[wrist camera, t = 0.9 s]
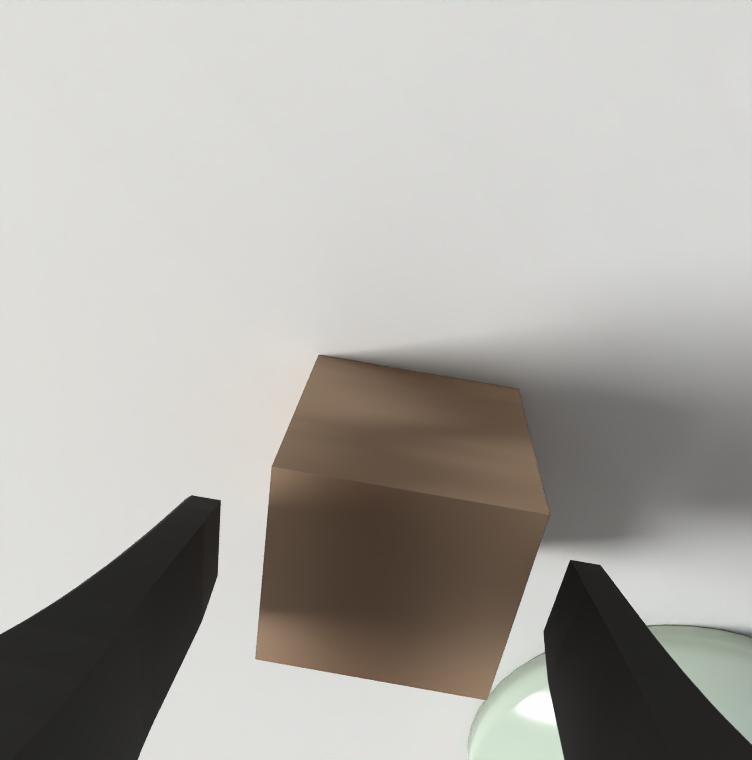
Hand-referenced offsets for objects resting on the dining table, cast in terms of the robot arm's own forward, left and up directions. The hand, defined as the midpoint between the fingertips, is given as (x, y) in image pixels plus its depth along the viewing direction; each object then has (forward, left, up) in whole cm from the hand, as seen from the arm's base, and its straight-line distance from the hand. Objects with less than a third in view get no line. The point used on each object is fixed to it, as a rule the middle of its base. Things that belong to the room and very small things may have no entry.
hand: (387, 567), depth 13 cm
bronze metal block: (0, 0, -4) cm, 4 cm away
